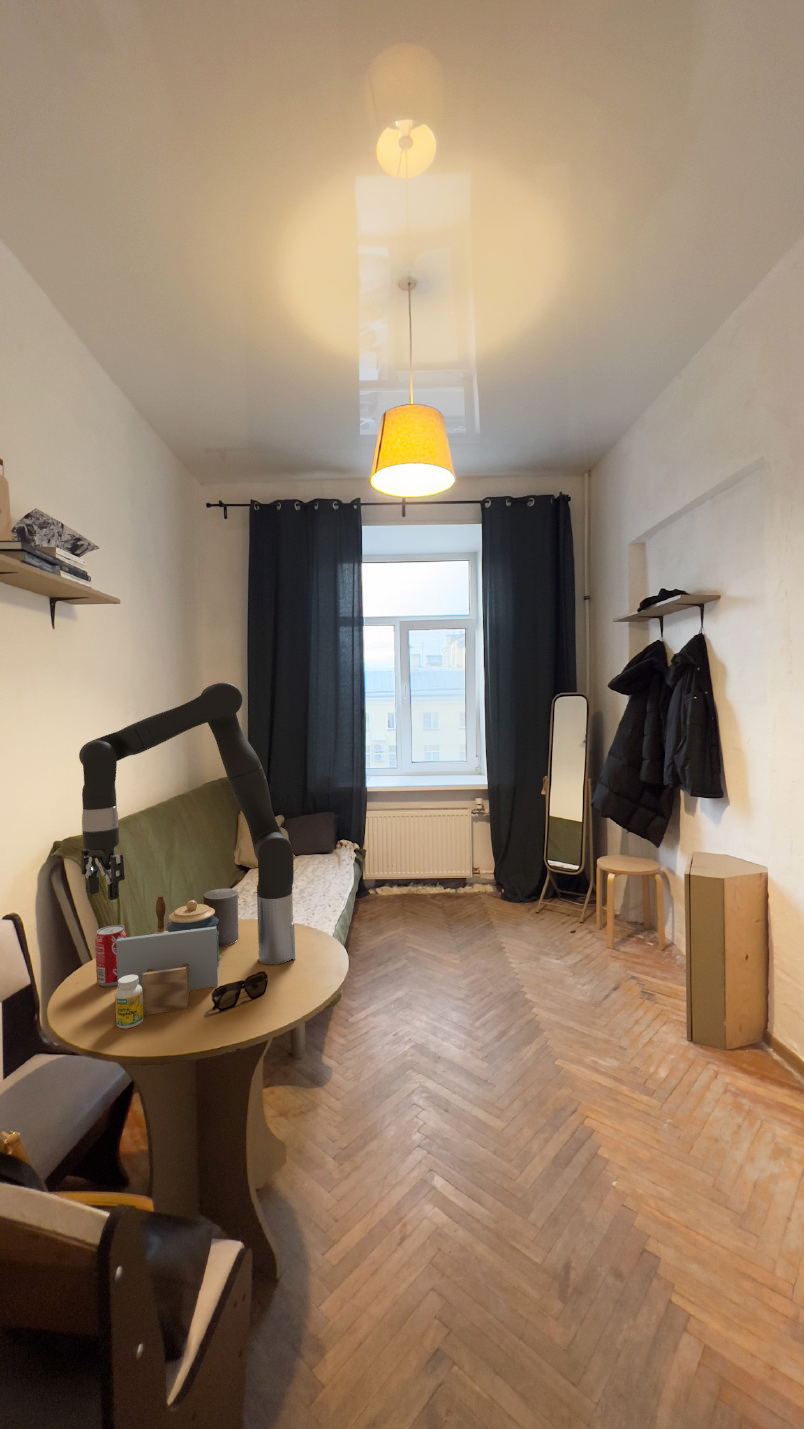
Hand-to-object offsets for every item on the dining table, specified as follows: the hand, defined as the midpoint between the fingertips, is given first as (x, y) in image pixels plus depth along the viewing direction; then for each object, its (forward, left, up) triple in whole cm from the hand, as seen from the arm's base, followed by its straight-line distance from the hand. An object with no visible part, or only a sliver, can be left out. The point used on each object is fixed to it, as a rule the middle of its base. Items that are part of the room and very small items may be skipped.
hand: (103, 896), depth 140 cm
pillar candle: (-26, -28, -24) cm, 45 cm away
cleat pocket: (-14, +6, -24) cm, 28 cm away
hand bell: (-10, -24, -24) cm, 36 cm away
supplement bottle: (-7, +13, -24) cm, 28 cm away
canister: (-19, -11, -24) cm, 33 cm away
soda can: (0, -10, -24) cm, 26 cm away
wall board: (-14, +1, -24) cm, 28 cm away
